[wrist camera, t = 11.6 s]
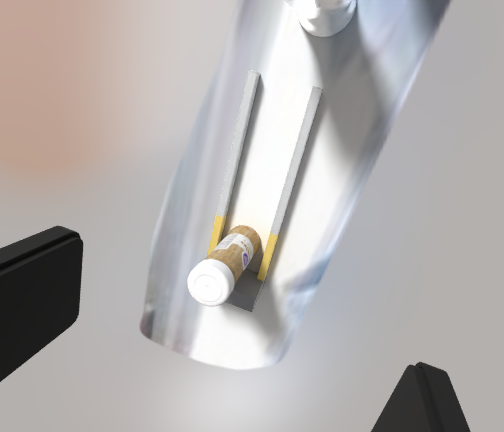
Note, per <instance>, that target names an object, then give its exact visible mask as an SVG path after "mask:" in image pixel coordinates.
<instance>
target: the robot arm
mask: <svg viewBox="0 0 504 432" xmlns="http://www.w3.org/2000/svg"><path fill="white" fill-rule="evenodd" d="M82 257H83V241H82V240H81V239H80V235H79V233H77V232H75V231H72V230H69V229H67V228H65V227H62V226H55V227H53V228H50V229H47V230H45V231H42V232H40V233H38V234H35V235H33V236H30V237H28V238H25V239H23V240H20V241H18V242H16V243H13V244H10V245H8V246H6V247H3V248H0V382H1V381H2V380H3V379H5V378H6V377H7V376H8V375H10V374H11V373H12V372H13V371H15V370H16V369H17V368H18V367H20V366H21V365H22V364H24V363H25V362H26V361H27V360H29V359H30V358H31V357H32V356H33V355H35V354H36V353H37V352H39V351H40V350H41V349H42V348H44V347H45V346H46V345H47V344H49V343H50V342H51V341H53V340H54V339H55V338H56V337H58V336H59V335H60V334H61V333H63V332H64V331H65V330H66V329H68V328H69V327H70V326H71V325H72V324H73V323H74V322H75V321H76V319H77V317H78V315H79V303H80V288H81V273H82ZM371 432H470V429H469V427H468V424H467V421H466V419H465V417H464V414H463V411H462V409H461V406H460V404H459V401H458V399H457V396H456V394H455V391H454V389H453V386H452V384H451V381H450V378H449V376H448V374H447V372H445V371H444V370H441V369H438V368H436V367H433V366H430V365H428V364H425V363H422V362H419V363H417V364H416V365H415V366H413V365H409V366H408V367H407V368H406V370H405V371H404V373H403V375H402V377H401V379H400V381H399V382H398V384H397V386H396V388H395V389H394V391H393V393H392V395H391V397H390V398H389V400H388V402H387V404H386V406H385V407H384V409H383V411H382V413H381V415H380V416H379V418H378V420H377V422H376V424H375V425H374V427H373V429H372V431H371Z"/></svg>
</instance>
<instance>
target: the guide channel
mask: <svg viewBox="0 0 504 432" xmlns="http://www.w3.org/2000/svg"><path fill="white" fill-rule="evenodd" d="M259 76H260V73H258V72H255V71H251V70H248V75H247V79H246V84H245V88H244V93H243V97H242V102H241V106H240V111H239V115H238V120H237V124H236V129H235V133H234V138H233V142H232V147H231V151H230V156H229V160H228V165H227V169H226V174H225V178H224V183H223V187H222V191H221V196H220V200H219V205H218V209H217V214H216V218H215V223H214V227H213V232H212V236H211V241H210V245H209V250H208V254H207V257H208V255H209V254H210V253H211V252H212V251H213V250H214V249H215V247H216V246H217V245H218V244H219V243H220V242H221V237H222V233H223V229H224V225H225V220H226V216H227V212H228V208H229V203H230V199H231V195H232V191H233V186H234V182H235V178H236V174H237V169H238V165H239V161H240V157H241V152H242V148H243V144H244V140H245V135H246V131H247V127H248V123H249V118H250V114H251V110H252V106H253V101H254V97H255V93H256V89H257V84H258V80H259ZM322 91H323V89H321V88H318V87H314V86H313V89H312V92H311V95H310V99H309V102H308V106H307V109H306V112H305V116H304V119H303V123H302V126H301V130H300V133H299V136H298V140H297V143H296V147H295V150H294V153H293V157H292V160H291V164H290V167H289V170H288V174H287V177H286V181H285V184H284V188H283V191H282V194H281V198H280V201H279V205H278V208H277V211H276V215H275V218H274V222H273V225H272V228H271V232H270V235H269V239H268V242H267V246H266V249H265V252H264V256H263V259H262V263H261V266H260V269H259V273H256V272H253V271H250V270H247V269H245V270H244V271H243V272H242V273H241V275H240V276H239V278H238V280H237V281H236V283H235V284H234V288H233V291H232V292H231V294H230V295H229V297H228V298H227V300H226V301H225V302H227V303H229V304H232V305H235V306H237V307H240V308H243V309H245V310H248V311H250V312H252V310H253V308H254V306H255V303H256V301H257V299H258V297H259V295H260V292H261V290H262V288H263V285H264V281H265V278H266V275H267V272H268V268H269V265H270V262H271V258H272V255H273V252H274V249H275V245H276V242H277V239H278V235H279V232H280V229H281V225H282V222H283V219H284V216H285V212H286V209H287V206H288V202H289V199H290V196H291V193H292V189H293V186H294V183H295V179H296V176H297V173H298V170H299V166H300V163H301V160H302V156H303V153H304V150H305V147H306V143H307V140H308V137H309V133H310V130H311V127H312V124H313V120H314V117H315V114H316V110H317V107H318V104H319V100H320V97H321V94H322Z"/></svg>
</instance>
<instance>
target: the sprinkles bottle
mask: <svg viewBox="0 0 504 432" xmlns="http://www.w3.org/2000/svg"><path fill="white" fill-rule="evenodd" d="M259 245H260V238H259V236H258V234H257V233H256V231H255V230H254V229H252V228H251V227H248V226H244V225H239V226H237V227H235V228H233V229H232V230H231V231H230V233H229V234H228V236H226V237H225V238H224V239H223V240H222V241H221V242H220V243H219V244H218V245H217V246H216V247H215V249H214V250H213V251H212V252H211V253H210V254H209V255H208V257H207V258H206V259H205V260H204V261H201V262H200V263H199V264H198V265H197V266H196V267H195V268H194V269H193V270H192V271H191V273H190V274H189V277H188V289H189V291H190V293H191V295H192V296H193V297H194V299H195V300H197V301H198V302H199V303H201V304H203V305H206V306H218V305H220V304H222V303H224V302H225V301H226V300H227V298H228V297H229V295H230V294H231V292H232V291H233V288H234V284H235V283H236V281H237V280H238V278H239V276H240V275H241V273H242V272H243V271H244V270H245V268H246V267H247V265H248V263H249V262H250V260H251V259H252V257H253V255H254V254H255V253H256V252H257V250H258V248H259Z"/></svg>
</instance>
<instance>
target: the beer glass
mask: <svg viewBox="0 0 504 432" xmlns="http://www.w3.org/2000/svg"><path fill="white" fill-rule="evenodd" d="M284 1H285V2H286V4H287V5H288V6H289V7H290V8H291V9H292V10H293V11H294V12H296V13H297V15H298V19H299V21H300V23H301V25H302V27H303V28H304V29H305V30H306V31H307V32H308V33H310V34H312V35H314V36H318V37H328V36H331V35H334V34H336V33H338V32H339V31H341V30H342V29H343V28H344V27H345V26H346V25H347V24H348V23H349V21H350V20H351V18H352V16H353V14H354V11H355V8H356V0H284Z"/></svg>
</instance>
